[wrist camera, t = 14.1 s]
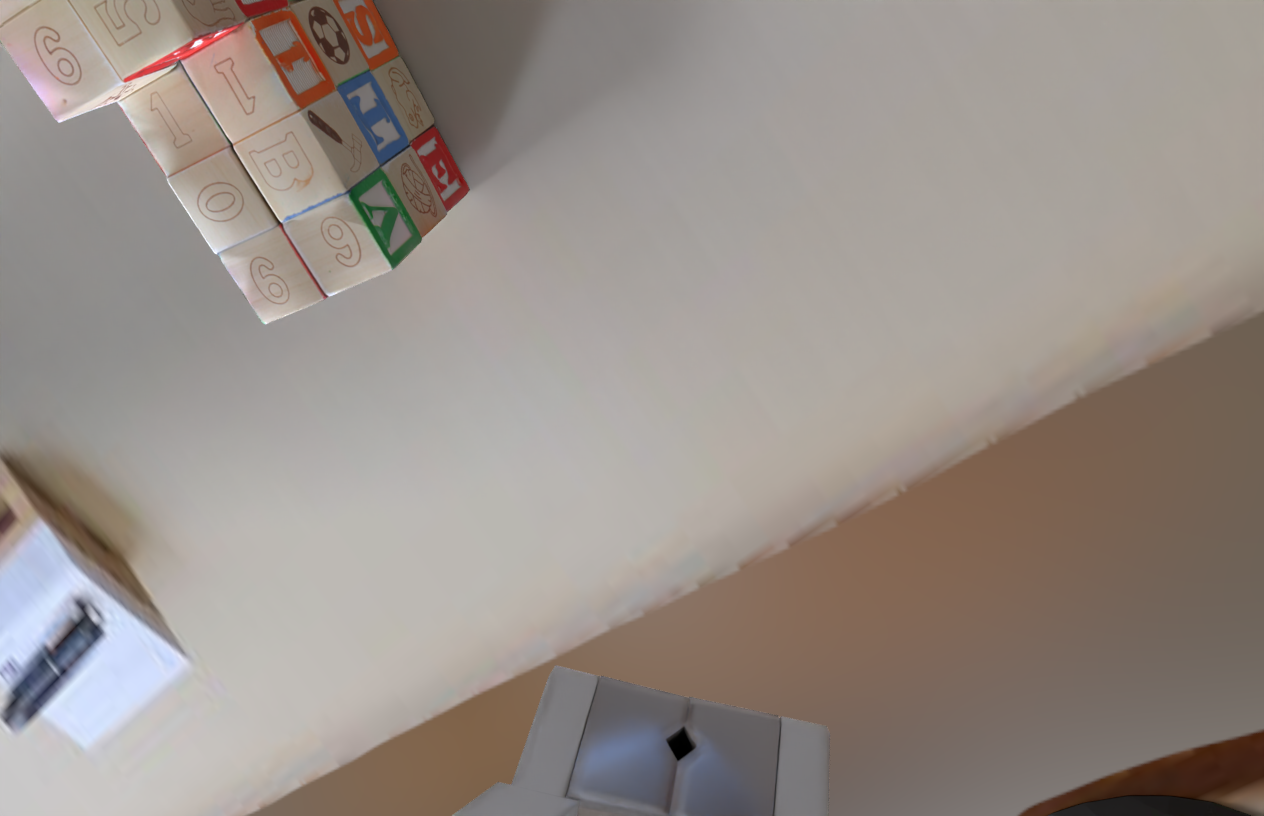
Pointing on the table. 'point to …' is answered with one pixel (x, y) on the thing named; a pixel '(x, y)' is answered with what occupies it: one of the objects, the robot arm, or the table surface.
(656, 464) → the table surface
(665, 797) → the robot arm
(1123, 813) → the globe
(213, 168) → the stack of blocks
